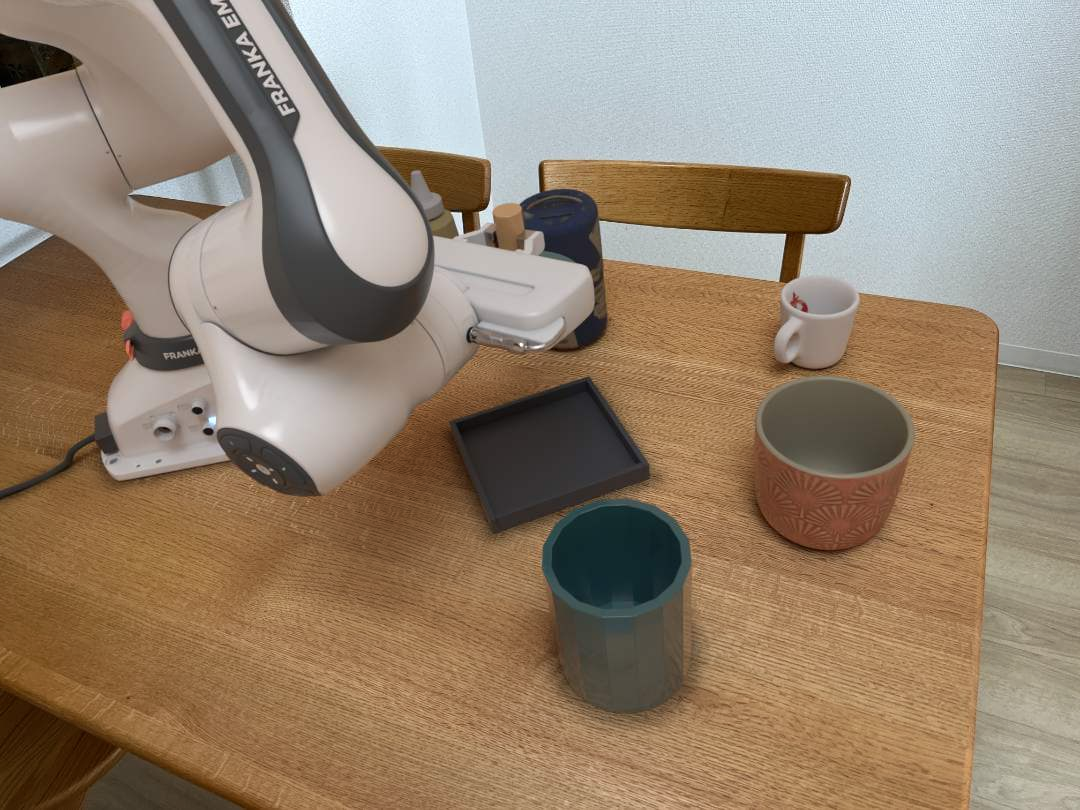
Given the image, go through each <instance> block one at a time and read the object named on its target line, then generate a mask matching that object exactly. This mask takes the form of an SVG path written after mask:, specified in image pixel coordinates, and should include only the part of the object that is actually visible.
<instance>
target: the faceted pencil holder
mask: <svg viewBox="0 0 1080 810" xmlns="http://www.w3.org/2000/svg"><path fill="white" fill-rule="evenodd" d="M690 544H691V542H690V539H689V537H688V536H687V534H686V533H685V531H684V530H683V528H682V527H681V525H680V523H679V522H678V521H677V519H676V518H675V517H673V516H672V515H670V514H669V513H667V512H665V511H664V510H662V509H661V508H659V507H658V506H656V505H655V504H651V503H648V502H645V501H641V500H637V499H632V498H629V497H628V498H627V497H623V498H602V499H598V500H595V501H593V502H590V503H586V504H583V505H581V506H579V507H576V508H574V509H572V510H571V511H570V512H569V513H567V514H566V515H564V516H563V517H562V518H560V520H558V521H557V522H556V523H554V525H553V527H552V529H551V530H550V532H549V534H548V536H547V537H546V539H545V541H544V542H543V545H542V553H541V554H542V555H541V556H542V557H541V572H542V577H543V583H544V588H545V594H546V599H547V604H548V608H549V614H550V619H551V625H552V630H553V634H554V635H553V636H554V640H555V645H556V650H557V656H558V661H559V665H560V666H561V669H562V670H561V671H562V673H563V675H564V677H565V679H566V682H567V683H568V684H569V687H570V688H571V689H572V690H573V691H574V692H575V694H577V696H578V697H580V698H581V699H582V700H584V701H585V702H587V703H588V704H589V705H591V706H593V707H596V708H597V709H600V710H603V711H606V712H610V713H616V714H637V713H640V712H645V711H648V710H651V709H654V708H656V707H658V706H660V705H662V704H664V703H665V702H666V701H668V700H669V699H670V698H671V697H673V696H674V695H675V694H676V693H677V691H678V690H679V689H680V688H681V686H682V685H683V683H684V682H685V680H686V678H687V675H688V673H689V669H690V665H691V660H692V632H693V631H692V629H693V627H692V626H693V625H692V624H693V623H692V620H693V619H692V617H693V616H692V614H693V613H692V611H693V600H692V599H693V598H692V597H693V594H692V593H693V583H692V582H693V560H692V554H691V553H692V552H691V545H690Z"/></svg>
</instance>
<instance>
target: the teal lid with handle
mask: <svg viewBox="0 0 1080 810" xmlns="http://www.w3.org/2000/svg"><path fill="white" fill-rule="evenodd" d="M492 209H493V210H492V211H491V212H492V213H491V214H492V220H493V223H494V226H495V231H496V237H497V242H498V248H499V249H505V250H510V251H516V250H517V249H519V248H520V247H519V246H518V243H517V237H518V236H519V235H520V234H522V233H524V230H525V226H524V220H523V213H522V207H521V206H520V205H519V204H518V203H515V202H507V203H501V204H499V205H497V206H495V207H494V208H492ZM539 256H541V257H546V258H551V259H556V260H561V261H566V262H572V263H576V262H574V261H573V260H571V259H570V258H568V257H566V256H563V255H560V254H557V253H553V252H547V251H543V252H542V253H541V254H540V255H539Z"/></svg>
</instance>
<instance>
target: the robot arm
mask: <svg viewBox="0 0 1080 810" xmlns="http://www.w3.org/2000/svg"><path fill="white" fill-rule="evenodd" d="M0 34H1V35H4V36H6V37H10V38H14V39H17V40H23V41H28V42H35V43H39V44H44V45H49V46H51V47H55V48H58V49H60V50H63V51H65V52H66V53H68V54H70V55H72V56H73V57H75V58H76V59H77V60H79V61H80V62H81V63H82V64H81V65H79V66H77V67H75V68H74V69H71V70H67V71H62V72H59V73H55V74H51V75H46V76H43V77H39V78H35V79H32V80H29V81H25V82H20V83H17V84H13V85H9V86H5V87H1V88H0V219H1V220H5V221H9V222H14V223H18V224H22V225H27V226H29V227H32V228H35V229H38V230H41V231H43V232H46V233H49V234H51V235H54V236H55V237H57V238H60V239H62V240H63V241H66V242H67V243H68V244H70V245H72V246H73V247H75V248H77V249H78V250H79V251H81V252H82V253H83V254H85V255H86V256H87V257H89V258H90V259H91V260H92V261H93V262H94V263H95V264H96V265H97V266H98V267H99V268H100V269H101V270H102V272H103V273H104V275H106V277H107V278H108V280H109V281H110V283H111V284H112V286H113V287H114V288H115V290H116V291H117V294H118V295H119V296H120V298H121V299H122V301H123V302H124V304H125V306H126V308H127V309H126V310H125V311H124V312H122V314H121V323H120V326H121V328H122V330H123V331H124V332H123V335H122V336H123V337H122V338H123V340H122V341H123V342H124V344H125V352H126V354H127V355H128V357H129V359H128V361H126V363H125V364H124V366H123V367H122V368H121V369H120V370H119V372H118V373H117V374H116V375H115V377H113V379H112V381H111V384H110V386H109V390H108V392H107V398H106V411H104V412H101V413H99V414H95V415H94V433H92V434H91V435H88V436H87V437H84V438H83V439H82V440H79V441H78V442H76V443H75V444H74V445H73V446H71V448H69V450H68V451H67V452H66V454H65V458H64V460H63V461H61V462H60V463H59V464H58V465H57V466H55V467H54V468H52V469H50V470H49V471H47V472H45V473H43V474H41V475H39V476H37V477H34V478H31V479H29V480H27V481H24V482H21V483H18V484H16V485H13V486H9V487H7V488H4V489H0V499H1V498H4V497H7V496H9V495H12V494H15V493H18V492H21V491H24V490H26V489H29V488H32V487H33V486H36V485H38V484H40V483H42V482H44V481H46V480H48V479H50V478H53V477H54V476H56V475H58V474H60V473H61V472H63V471H64V470H65V469H67V468H68V467H69V466H70V465H72V462H73V461H74V458H75V455H76V454H77V453H78V451H80V450H81V449H82V448H84V447H86V446H88V445H91V444H92V443H93V442H95V444H97V446H98V448H99V449H100V456H101V460H102V464H103V465H104V468H105V469H106V472H107V473H108V474H109V476H110V477H111V478H113V479H114V480H115V481H118V482H119V481H120V482H122V481H129V480H134V479H141V478H145V477H150V476H155V475H160V474H165V473H171V472H176V471H181V470H186V469H192V468H197V467H203V466H208V465H213V464H218V463H223V462H228V461H229V462H231V463H232V464H233V465H235V467H237V468H238V470H240V471H241V472H242V473H244V474H245V475H246V476H248V477H249V478H251V480H254V481H255V482H257V483H258V484H260V485H261V486H263V487H267V488H269V489H271V490H273V491H275V492H276V493H278V494H282V495H287V496H292V497H300V498H301V497H302V498H311V497H321V496H324V495H327V494H329V493H331V492H332V491H334V490H336V489H338V488H339V487H341V486H342V485H343V484H344V483H346V482H347V481H348V480H350V479H351V478H352V477H354V476H355V475H356V474H357V473H359V472H360V471H361V470H363V468H364V467H365V466H367V465H368V464H369V463H370V462H371V461H372V460H374V458H376V457H377V456H378V455H379V454H380V453H381V452H382V451H383V450H384V449H385V448H386V447H387V446H388V445H389V444H390V443H391V442H392V441H393V440H394V439H395V438H397V436H398V435H399V434H400V433H401V432H402V431H403V430H404V428H405V427H406V425H407V423H408V421H409V419H410V416H411V415H412V413H413V411H414V410H415V409H417V408H418V407H419V406H420V405H422V404H424V403H426V402H428V401H430V400H432V399H433V398H434V397H435V396H437V395H438V394H439V393H440V392H441V391H442V389H444V388H445V387H446V386H447V384H449V383H450V381H451V380H452V379H454V377H456V375H457V374H458V373H459V372H460V371H461V370H462V369H463V368H464V367H465V366H466V365H467V364H468V363H469V362H470V361H471V360H472V359H473V357H475V355H476V354H477V352H478V350H479V348H480V346H484V347H487V348H492V349H499V350H500V349H501V350H504V351H506V352H508V353H510V354H513V355H521V356H522V355H523V356H524V355H526V354H528V353H532V354H533V353H540V352H544V351H545V352H546V351H548V350H550V349H552V348H554V347H553V346H554V345H556V344H557V343H558V342H560V341H561V340H562V339H564V338H565V337H566V336H567V335H569V334H570V333H571V332H572V331H573V330H574V329H576V328H577V327H578V326H579V325H580V324H581V323H582V322H583V321H584V320H585V319H586V318H587V317H588V316H589V315H590V314H591V313H592V311H593V309H594V304H595V295H594V285H593V279H592V276H591V273H590V271H589V269H588V267H587V266H585V265H582V264H577V263H572V262H566V261H561V260H556V259H551V258H546V257H541V256H539V255H540V254H541V253H542V252H543V250H544V248H545V242H544V234H543V232H540V231H533V230H524V233H522V234H520V235H519V236H518V237H517V243H518V246H519V247H520V248H519V249H517V250H516V251H510V250H505V249H499V248H498V242H497V237H496V231H495V226H494V222H486V223H485V224H483V226H481V227H480V228H479V229H478V230H477V229H476V230H473V231H470V232H466V233H463V234H459V236H456V237H454V238H453V239H448V238H443V237H438V236H433V234H432V230H431V226H430V223H429V220H428V217H427V214H426V212H425V210H424V208H423V206H422V204H421V202H420V201H419V199H418V197H417V196H416V194H415V193H414V191H413V190H412V189H411V185H409V183H408V182H407V180H405V178H404V177H403V176H402V175H401V173H400V172H399V171H398V170H397V168H396V167H394V166H393V165H392V163H391V161H389V160H388V158H386V156H384V154H382V152H381V151H380V150H379V149H378V148H377V146H376V145H375V143H373V141H372V140H371V139H370V138H369V137H368V135H367V134H366V132H365V131H364V130H363V128H362V127H361V126H360V124H359V123H358V122H357V121H356V119H355V117H354V116H353V115H352V112H351V111H350V110H349V107H348V106H347V105H346V104H345V102H344V100H343V98H342V97H341V95H340V94H339V92H338V90H337V89H336V88H335V86H334V84H333V82H332V81H331V79H330V77H329V76H328V74H327V73H326V71H325V69H324V68H323V66H322V65H321V63H320V62H319V60H318V59H317V56H316V55H315V54H314V52H313V50H312V49H311V47H310V45H309V44H308V42H307V40H306V39H305V37H304V36H303V34H302V32H301V31H300V29H299V28H298V26H297V25H296V22H295V21H294V20H293V18H292V16H291V15H290V13H289V12H288V10H287V8H286V6H285V5H284V3H283V2H282V0H0ZM235 152H236V154H237V156H238V157H239V158H240V160H241V162H242V163H243V165H244V167H245V169H246V172H247V175H248V179H249V182H250V191H251V194H250V195H248V196H247V197H245V198H243V199H240V200H238V201H234V203H232V204H230V205H228V206H225V207H224V208H221V209H220V210H219V211H217V212H215V213H213V214H212V215H210V216H208V217H206V218H205V219H202V218H200V217H199V216H195V215H193V214H191V213H188V212H185V211H184V212H183V211H179V210H172V209H164V208H156V207H152V206H148V205H146V204H143V203H140V202H138V201H136V200H135V199H133V198H132V197H130V196H129V195H130V194H132V193H134V192H135V191H138V190H141V189H145V188H147V187H151V186H154V185H159V184H161V183H164V182H168V181H170V180H174V179H178V178H180V177H183V176H184V177H185V176H186V175H187V176H188V175H190V174H193V173H196V172H200V171H203V170H205V169H207V168H208V167H210V166H212V165H214V164H216V163H218V162H220V161H222V160H224V159H225V158H227V157H229V156H231V155H232V154H234V153H235Z"/></svg>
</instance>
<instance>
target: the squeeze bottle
mask: <svg viewBox="0 0 1080 810" xmlns="http://www.w3.org/2000/svg"><path fill="white" fill-rule="evenodd" d="M410 187H411V189H412V190H413V191H414V193H415V194H416V196H417V197H418V199H419V201H420V202H421V204H422V206H423V208H424V210H425V212H426V214H427V217H428V220H429V223H430V226H431V230H432V234H433V236H438V237H443V238H448V239H453V238H454V237H456V236H459V235H460V234H459V230H458V227H457V224H456V221H455V218H454V215H453V214H452V212H451V210H448V209H446V208H445V207H444V203H443V199H442V196H441V195H440V194H438V193H437V192H433V191H432V192H431V191H430V188H429V187H428V184H427V182H426V180H425V178H424V176H423V174H422V171H421V170H417V169H416V170H413V171H411V173H410Z"/></svg>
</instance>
